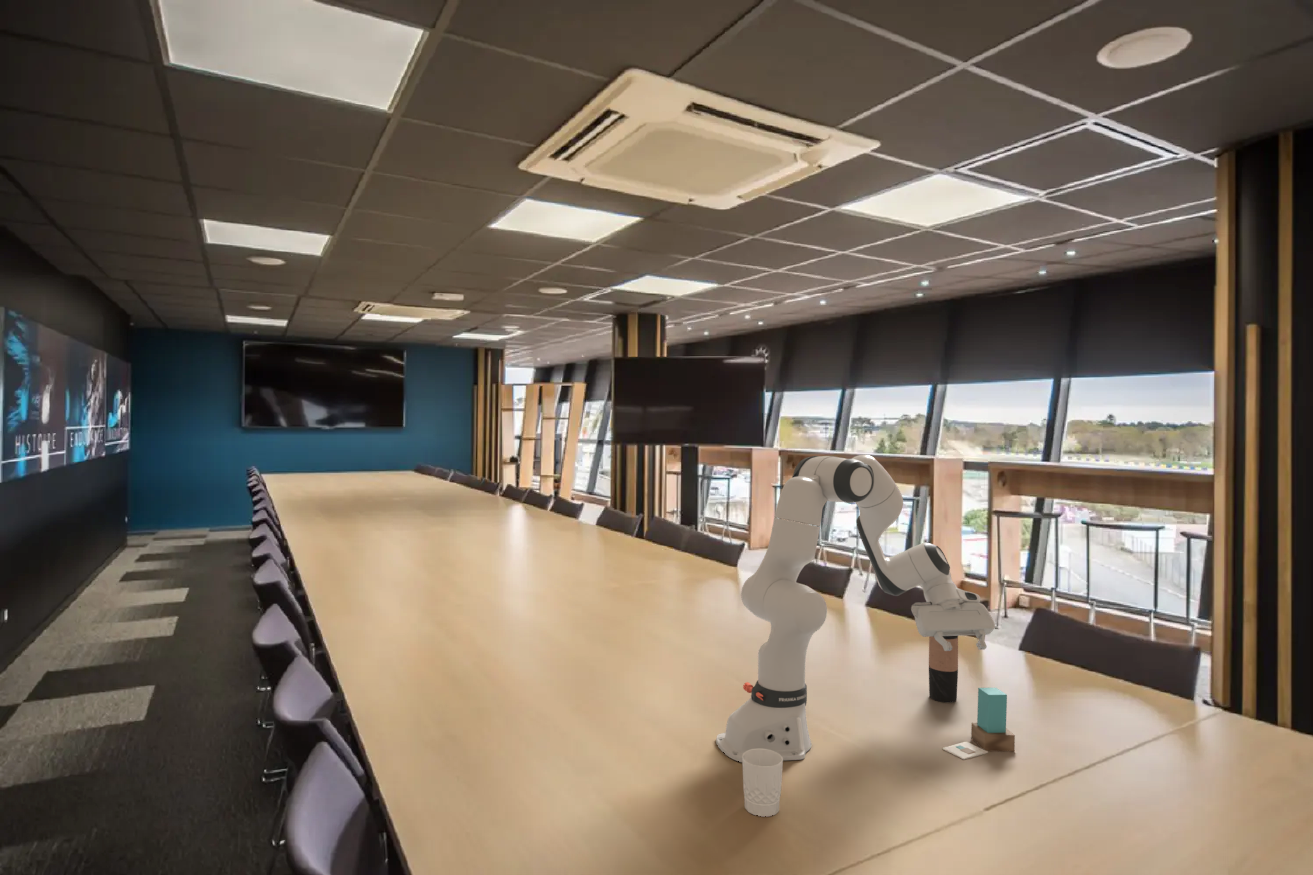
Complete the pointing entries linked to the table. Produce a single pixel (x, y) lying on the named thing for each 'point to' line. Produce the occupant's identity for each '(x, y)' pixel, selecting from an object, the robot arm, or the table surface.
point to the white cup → (762, 781)
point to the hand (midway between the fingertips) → (966, 649)
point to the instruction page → (965, 750)
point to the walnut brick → (993, 739)
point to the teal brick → (992, 710)
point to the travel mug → (943, 670)
